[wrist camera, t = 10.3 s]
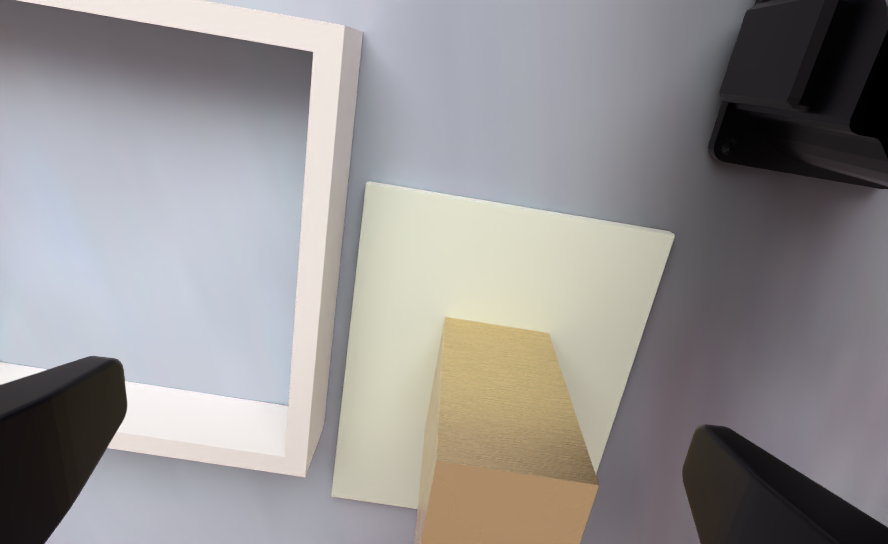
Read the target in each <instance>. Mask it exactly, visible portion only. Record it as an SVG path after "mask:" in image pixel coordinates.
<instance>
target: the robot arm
mask: <svg viewBox="0 0 888 544" xmlns="http://www.w3.org/2000/svg"><path fill="white" fill-rule="evenodd" d="M720 94H721V97H722V99H723V102H722V105H721V108H720V111H719V114H718V117H717V120H716V123H715V126H714V129H713V132H712V135H711V138H710V141H709V147H708V149H709V153H710V155H711V156H712V157H713V158H715V159H717V160H720V161H723V162H727V163H733V164H739V165H745V166H750V167H756V168H762V169H768V170H774V171H780V172H786V173H791V174H797V175H803V176H809V177H815V178H821V179H826V180H832V181H838V182H844V183H850V184H856V185H862V186H867V187H873V188H879V189H888V0H756V3H755V6H753V7H752V8H750V9H749V10H748V11H747V12H746V13H745V16H744V19H743V22H742V25H741V28H740V32H739V35H738V38H737V41H736V44H735V47H734V50H733V53H732V56H731V59H730V62H729V65H728V68H727V71H726V74H725V77H724V80H723V83H722V86H721V89H720ZM727 139H730V141H731V147H730V149H729V150H728V151H727V152H725V153H723V152H722V151H721V145H722V144H723V142H724V141H726V140H727ZM126 412H127V394H126V386H125V377H124V369H123V365H122V363H121V362H120V361H119V360H118V359H115V358H107V357H98V356H89V357H86V358H83V359H79V360H76V361H73V362H70V363H67V364H64V365H61V366H58V367H54V368H51V369H48V370H45V371H42V372H39V373H36V374H33V375H29V376H26V377H23V378H20V379H17V380H14V381H11V382H8V383H4V384H1V385H0V544H45V542H46V541H47V540H48V538H49V537H50V536H51V534H52V533H53V532H54V530H55V529H56V527H57V526H58V525H59V523H60V522H61V521H62V519H63V518H64V516H65V515H66V514H67V512H68V511H69V509H70V508H71V506H72V505H73V503H74V502H75V500H76V499H77V497H78V495H79V494H80V492H81V491H82V489H83V487H84V486H85V484H86V482H87V481H88V479H89V477H90V476H91V474H92V472H93V471H94V469H95V467H96V466H97V464H98V462H99V461H100V459H101V457H102V456H103V454H104V452H105V451H106V449H107V447H108V446H109V444H110V442H111V440H112V439H113V437H114V435H115V434H116V432H117V430H118V429H119V427H120V425H121V424H122V422H123V420H124V418H125V415H126ZM683 483H684V486H685V490H686V493H687V497H688V501H689V504H690V508H691V511H692V515H693V518H694V522H695V525H696V529H697V532H698V536H699V539H700V543H701V544H888V527H886V526H885V525H883V524H881V523H880V522H878V521H877V520H875V519H874V518H872V517H870V516H869V515H867V514H866V513H864V512H862V511H861V510H859V509H858V508H856V507H854V506H853V505H851V504H850V503H848V502H846V501H845V500H843V499H842V498H840V497H838V496H837V495H835V494H834V493H832V492H830V491H829V490H827V489H826V488H824V487H822V486H821V485H819V484H818V483H816V482H814V481H813V480H811V479H810V478H808V477H806V476H805V475H803V474H802V473H800V472H798V471H797V470H795V469H794V468H792V467H790V466H789V465H787V464H786V463H784V462H782V461H781V460H779V459H778V458H776V457H774V456H773V455H771V454H770V453H768V452H766V451H765V450H763V449H762V448H760V447H759V446H757V445H755V444H754V443H752V442H751V441H749V440H747V439H746V438H744V437H743V436H741V435H739V434H738V433H736V432H735V431H733V430H731V429H730V428H727V427H724V426H715V425H705V424H703V425H700V426H699V427H698V428H697V429H696V430H695V433H694V435H693V438H692V441H691V444H690V447H689V450H688V453H687V456H686V459H685V462H684V465H683Z"/></svg>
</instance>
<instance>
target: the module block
mask: <svg viewBox="0 0 888 544" xmlns="http://www.w3.org/2000/svg"><path fill="white" fill-rule="evenodd" d="M598 488H599V483H598V480H597V477H596V474H595V471H594V468H593V465H592V462H591V459H590V456H589V453H588V450H587V447H586V444H585V441H584V438H583V435H582V432H581V429H580V426H579V423H578V420H577V417H576V414H575V411H574V408H573V405H572V402H571V399H570V396H569V393H568V390H567V387H566V384H565V381H564V378H563V374H562V371H561V368H560V365H559V362H558V359H557V356H556V353H555V350H554V347H553V344H552V341H551V338H550V335H549V333H545V332H539V331H533V330H526V329H520V328H514V327H507V326H501V325H495V324H488V323H482V322H476V321H469V320H463V319H457V318H451V317H445V320H444V325H443V331H442V336H441V342H440V347H439V353H438V359H437V364H436V370H435V375H434V381H433V386H432V392H431V397H430V403H429V409H428V414H427V420H426V425H425V436H424V446H423V457H422V467H421V478H420V488H419V499H418V509H417V519H416V530H415V540H414V544H580V541H581V538H582V535H583V532H584V529H585V526H586V523H587V520H588V517H589V514H590V511H591V508H592V505H593V502H594V499H595V496H596V493H597V491H598Z"/></svg>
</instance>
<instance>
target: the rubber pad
mask: <svg viewBox="0 0 888 544" xmlns="http://www.w3.org/2000/svg"><path fill="white" fill-rule="evenodd" d="M674 237H675V235H674V234H673V233H671V232H670V231H665V230H659V229H653V228H647V227H641V226H635V225H629V224H623V223H617V222H611V221H605V220H599V219H593V218H587V217H581V216H575V215H569V214H563V213H557V212H551V211H545V210H539V209H533V208H527V207H521V206H515V205H509V204H503V203H497V202H491V201H485V200H479V199H473V198H467V197H461V196H455V195H449V194H443V193H437V192H431V191H425V190H419V189H413V188H407V187H401V186H395V185H389V184H383V183H377V182H371V181H368V182H367V183H366V188H365V197H364V206H363V215H362V224H361V233H360V242H359V251H358V260H357V269H356V278H355V287H354V296H353V305H352V314H351V323H350V332H349V341H348V350H347V359H346V368H345V377H344V386H343V395H342V404H341V412H340V421H339V430H338V439H337V448H336V457H335V466H334V475H333V484H332V493H331V497H338V498H345V499H352V500H358V501H365V502H372V503H379V504H386V505H392V506H399V507H406V508H413V509H418V499H419V488H420V478H421V467H422V457H423V446H424V436H425V425H426V420H427V414H428V409H429V403H430V397H431V392H432V386H433V381H434V375H435V370H436V364H437V359H438V353H439V347H440V342H441V336H442V331H443V325H444V320H445V317H451V318H457V319H463V320H469V321H476V322H482V323H488V324H495V325H501V326H507V327H514V328H520V329H526V330H533V331H539V332H545V333H549V335H550V338H551V341H552V344H553V347H554V350H555V353H556V356H557V359H558V362H559V365H560V368H561V371H562V374H563V378H564V381H565V384H566V387H567V390H568V393H569V396H570V399H571V402H572V405H573V408H574V411H575V414H576V417H577V420H578V423H579V426H580V429H581V432H582V435H583V438H584V441H585V444H586V447H587V450H588V453H589V456H590V459H591V462H592V465H593V468H594V471H595V474H596V473H597V470H598V467H599V464H600V461H601V458H602V455H603V452H604V449H605V446H606V443H607V440H608V437H609V434H610V431H611V428H612V425H613V422H614V419H615V415H616V412H617V409H618V406H619V403H620V400H621V397H622V394H623V391H624V388H625V385H626V382H627V379H628V376H629V373H630V370H631V367H632V364H633V361H634V358H635V355H636V352H637V349H638V346H639V343H640V340H641V337H642V334H643V331H644V328H645V325H646V322H647V319H648V316H649V313H650V310H651V307H652V304H653V300H654V297H655V294H656V291H657V288H658V285H659V282H660V279H661V276H662V273H663V270H664V267H665V264H666V261H667V258H668V255H669V252H670V249H671V246H672V243H673V240H674Z"/></svg>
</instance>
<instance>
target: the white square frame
mask: <svg viewBox="0 0 888 544" xmlns="http://www.w3.org/2000/svg"><path fill="white" fill-rule="evenodd" d="M18 1H23V2H29V3H35V4H41V5H46V6H52V7H58V8H64V9H69V10H75V11H81V12H87V13H92V14H98V15H104V16H110V17H116V18H121V19H127V20H133V21H139V22H144V23H150V24H156V25H162V26H167V27H173V28H179V29H185V30H190V31H196V32H202V33H208V34H214V35H219V36H225V37H231V38H237V39H242V40H248V41H254V42H260V43H265V44H271V45H277V46H283V47H289V48H294V49H300V50H306V51H312V52H313V62H312V77H311V91H310V105H309V120H308V134H307V148H306V163H305V177H304V191H303V206H302V220H301V234H300V248H299V263H298V277H297V291H296V306H295V320H294V334H293V349H292V363H291V377H290V392H289V406H285V405H279V404H272V403H266V402H259V401H252V400H246V399H239V398H233V397H226V396H220V395H213V394H206V393H200V392H193V391H187V390H180V389H174V388H167V387H160V386H154V385H147V384H141V383H134V382H128V381H125V386H126V394H127V412H126V415H125V418H124V420H123V422H122V424H121V425H120V427H119V429H118V430H117V432H116V434H115V435H114V437H113V439H112V440H111V442H110V444H109V446H108V447H107V448H111V449H118V450H124V451H131V452H138V453H145V454H151V455H158V456H165V457H172V458H178V459H185V460H192V461H199V462H205V463H212V464H219V465H226V466H232V467H239V468H246V469H253V470H259V471H266V472H273V473H280V474H286V475H293V476H300V477H305V476H306V473H307V471H308V468H309V465H310V463H311V460H312V457H313V455H314V452H315V450H316V447H317V444H318V442H319V439H320V436H321V434H322V431H323V428H324V421H325V411H326V401H327V391H328V381H329V371H330V361H331V351H332V341H333V331H334V320H335V310H336V300H337V290H338V280H339V270H340V260H341V250H342V240H343V230H344V220H345V210H346V200H347V190H348V180H349V170H350V160H351V149H352V139H353V129H354V119H355V109H356V99H357V89H358V79H359V69H360V59H361V49H362V39H363V32H362V31H359V30H356V29H354V28H351V27H348V26H345V25H339V24H334V23H328V22H322V21H316V20H311V19H305V18H299V17H294V16H288V15H282V14H277V13H271V12H265V11H259V10H254V9H248V8H242V7H237V6H231V5H225V4H220V3H214V2H208V1H202V0H18ZM45 370H48V369H42V368H36V367H29V366H23V365H16V364H9V363H3V362H0V385H1V384H4V383H8V382H11V381H14V380H17V379H20V378H23V377H26V376H29V375H33V374H36V373H39V372H42V371H45Z"/></svg>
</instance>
